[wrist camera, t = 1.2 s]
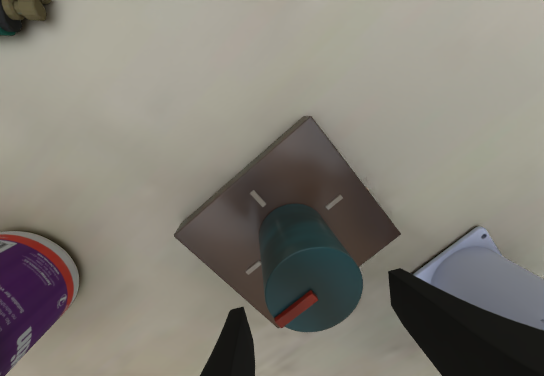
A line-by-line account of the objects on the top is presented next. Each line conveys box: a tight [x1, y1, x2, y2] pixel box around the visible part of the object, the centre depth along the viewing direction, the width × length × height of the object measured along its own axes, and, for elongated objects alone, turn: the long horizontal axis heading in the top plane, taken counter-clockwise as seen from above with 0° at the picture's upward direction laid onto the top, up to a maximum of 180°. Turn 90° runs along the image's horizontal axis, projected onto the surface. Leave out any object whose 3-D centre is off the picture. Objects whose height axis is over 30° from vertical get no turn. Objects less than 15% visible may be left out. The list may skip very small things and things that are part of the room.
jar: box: [259, 204, 363, 332], centre depth 16 cm, size 5×5×7 cm
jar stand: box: [174, 116, 401, 328], centre depth 20 cm, size 13×12×2 cm
